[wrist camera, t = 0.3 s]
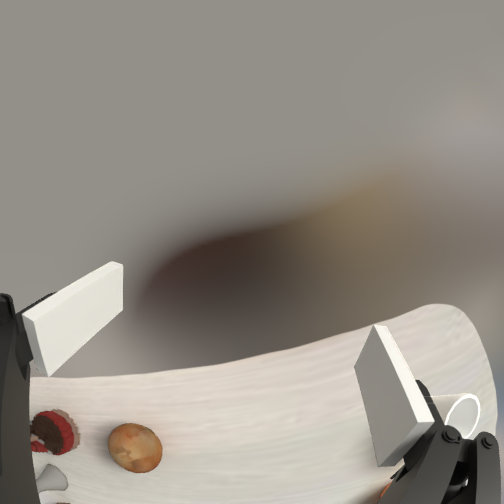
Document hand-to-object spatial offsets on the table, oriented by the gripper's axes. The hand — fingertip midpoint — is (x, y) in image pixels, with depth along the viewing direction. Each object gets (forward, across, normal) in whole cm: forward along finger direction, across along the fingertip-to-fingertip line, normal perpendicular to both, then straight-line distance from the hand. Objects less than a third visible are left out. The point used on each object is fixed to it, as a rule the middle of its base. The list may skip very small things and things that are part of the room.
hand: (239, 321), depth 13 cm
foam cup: (+24, -39, +28) cm, 54 cm away
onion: (+15, +14, +41) cm, 46 cm away
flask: (+1, +34, +61) cm, 70 cm away
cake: (+11, +32, +47) cm, 58 cm away
